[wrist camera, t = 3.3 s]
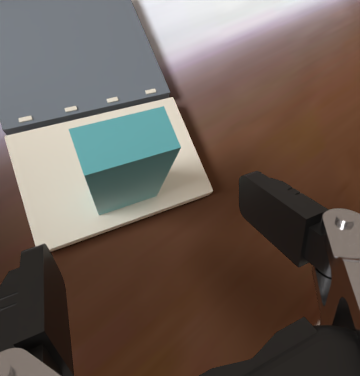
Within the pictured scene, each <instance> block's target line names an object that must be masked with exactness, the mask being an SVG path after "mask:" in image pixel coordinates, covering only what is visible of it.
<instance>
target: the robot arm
mask: <svg viewBox="0 0 360 376" xmlns="http://www.w3.org/2000/svg"><path fill="white" fill-rule="evenodd" d="M239 208H240V211H241V214H242V215H243V217H244V218H245V219H246V220H247V221H248V222H249V223H250V224H251V225H252V226H253V227H255V228H256V229H257V230H258V231H259V232H260V233H261V234H262V235H263V236H264V237H266V238H267V239H268V240H269V241H270V242H271V243H272V244H273V245H274V246H275V247H277V248H278V249H279V250H280V251H281V252H282V253H283V254H284V255H285V256H286V257H288V258H289V259H290V260H291V261H292V262H293V263H294V264H295V265H296V266H297V267H301V266H303V265H305V264H307V263H311V264H312V265H313V267H312V275H313V280H314V285H315V290H316V295H317V300H318V305H319V310H320V325H317V326H312V325H311V324H310V323H309V321H308V320H307V319H306V318H305V317H303V318H301V319H299V320H298V321H296V322H294V323H292V324H290V325H289V326H287V327H285V328H283V329H282V330H280V331H278V332H276V333H275V334H274V336H273V337H272V338H271V339H270V340H269V341H268V342H267V343H266V344H265V345H264V347H263V348H262V349H261V350H260V351H259V352H258V353H257V354H256V355H255V356H254V357H253V358H252V359H250V360H246V361H242V362H238V363H233V364H229V365H224V366H220V367H216V368H212V369H210V370H208V371H206V372H205V373H203V374H201V375H199V376H360V214H359V213H357V212H354V211H351V210H348V209H340V208H336V209H330V210H328V209H327V208H325V207H323V206H322V205H320V204H318V203H317V202H315V201H314V200H312V199H310V198H309V197H307V196H305V195H304V194H302V193H301V194H300V192H299V191H297V190H296V189H293V188H292V187H291V186H289V185H288V184H286V183H284V182H283V181H279V180H276V179H273V178H268V177H267V176H265V175H264V174H262V173H261V172H259V171H255V172H252V173H249V174H246V175H243V176H241V177H240V179H239ZM0 376H74V371H73V360H72V350H71V340H70V330H69V319H68V309H67V299H66V289H65V284H64V280H63V277H62V275H61V272H60V270H59V268H58V266H57V264H56V262H55V260H54V258H53V256H52V254H51V252H50V250H49V248H48V247H47V245H46V244H45V243H44V244H41V245H38V246H36V247H33V248H30V249H27V250H24V251H22V252H21V259H20V268H17V269H14V270H11V271H9V272H8V274H7V276H6V277H5V279H4V280H3V282H2V284H1V285H0Z"/></svg>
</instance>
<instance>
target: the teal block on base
mask: <svg viewBox="0 0 360 376" xmlns="http://www.w3.org/2000/svg"><path fill="white" fill-rule="evenodd" d="M4 137H5V141H6V144H7V148H8V151H9V155H10V158H11V162H12V165H13V169H14V172H15V176H16V179H17V183H18V186H19V190H20V193H21V197H22V200H23V204H24V208H25V211H26V215H27V218H28V222H29V225H30V229H31V232H32V236H33V239H34V243H35V246H38V245H41V244H44V243H45V244H46V245H47V247H48V248H49V250H50V252H52V251H55V250H57V249H60V248H63V247H66V246H69V245H71V244H74V243H77V242H80V241H83V240H85V239H88V238H91V237H94V236H96V235H99V234H102V233H105V232H108V231H110V230H113V229H116V228H119V227H122V226H124V225H127V224H130V223H133V222H135V221H138V220H141V219H144V218H147V217H149V216H152V215H155V214H158V213H161V212H163V211H166V210H169V209H172V208H174V207H177V206H180V205H183V204H186V203H188V202H191V201H194V200H197V199H200V198H202V197H205V196H208V195H209V194H211V193H212V192H213V189H212V187H211V184H210V182H209V180H208V177H207V175H206V173H205V170H204V168H203V166H202V163H201V161H200V159H199V156H198V154H197V152H196V149H195V147H194V145H193V142H192V140H191V138H190V135H189V133H188V131H187V128H186V126H185V124H184V121H183V119H182V117H181V114H180V112H179V110H178V107H177V105H176V103H175V101H174V98H173V97H171V98H166V99H162V100H158V101H153V102H149V103H145V104H140V105H136V106H132V107H127V108H123V109H119V110H115V111H110V112H106V113H102V114H97V115H93V116H89V117H84V118H80V119H76V120H72V121H67V122H63V123H59V124H54V125H50V126H46V127H41V128H37V129H33V130H28V131H24V132H20V133H16V134H11V135H7V136H4Z"/></svg>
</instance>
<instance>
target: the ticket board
mask: <svg viewBox="0 0 360 376" xmlns="http://www.w3.org/2000/svg"><path fill="white" fill-rule="evenodd" d="M169 95H170V90H169V88H168V85H167V83H166V81H165V78H164V76H163V74H162V71H161V69H160V67H159V64H158V62H157V60H156V57H155V55H154V53H153V51H152V48H151V46H150V44H149V41H148V39H147V37H146V34H145V32H144V30H143V27H142V25H141V23H140V20H139V18H138V16H137V13H136V11H135V9H134V6H133V4H132V2H131V0H0V122H1V125H2V129H3V131H4V132H5V133H6V134H7V135H11V134H16V133H20V132H24V131H28V130H33V129H37V128H41V127H46V126H50V125H54V124H59V123H63V122H67V121H72V120H76V119H80V118H84V117H89V116H93V115H97V114H102V113H106V112H110V111H115V110H119V109H123V108H127V107H132V106H136V105H140V104H145V103H149V102H153V101H158V100H162V99H166V98H169Z"/></svg>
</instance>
